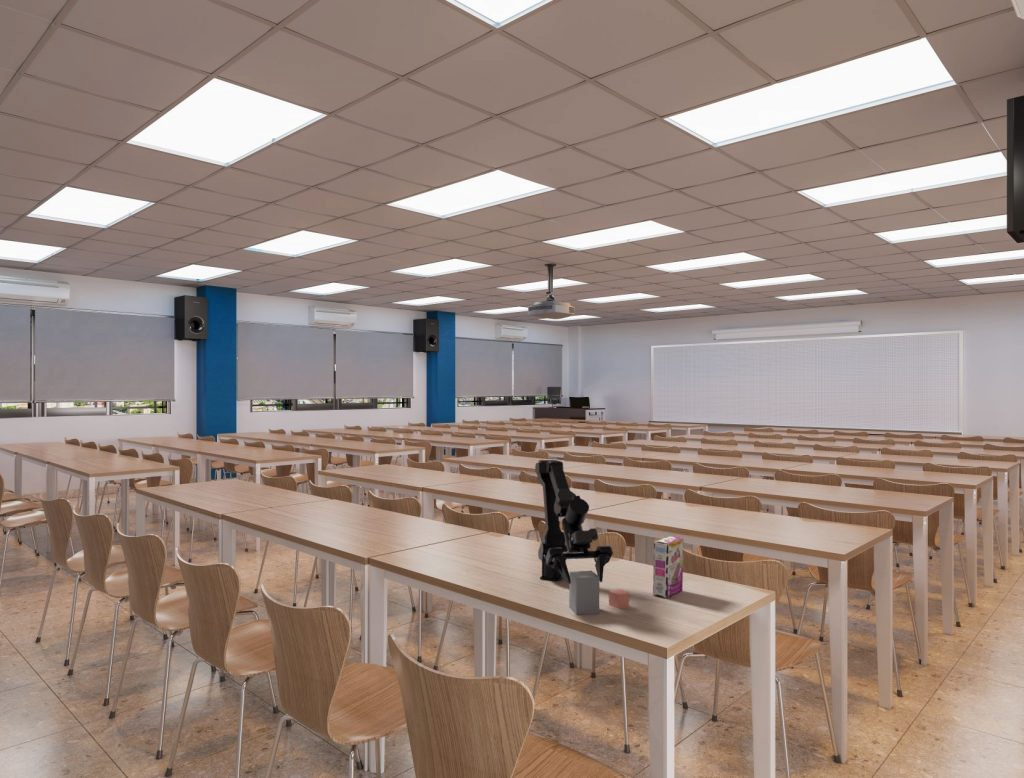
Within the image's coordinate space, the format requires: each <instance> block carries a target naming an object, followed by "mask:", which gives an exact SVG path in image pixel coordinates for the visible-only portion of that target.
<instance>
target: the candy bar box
mask: <svg viewBox="0 0 1024 778" xmlns="http://www.w3.org/2000/svg"><path fill="white" fill-rule="evenodd" d="M683 566H684V538H682V537H676V536H668V537H665V538H661V539H658V540H654V541H653V573H652V574H653V577H652V578H653V583H652V596H655V597H660V598H664V599H667V598H670V597H671V596H674V595H676V594H678V593H680V592H682V591H683V585H684V584H683V581H684V580H683V577H684V576H683V572H684V567H683Z"/></svg>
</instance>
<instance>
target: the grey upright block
mask: <svg viewBox="0 0 1024 778" xmlns="http://www.w3.org/2000/svg"><path fill="white" fill-rule="evenodd" d="M569 575H570V580H571V583H570V584H568V586H569V587H568V588H569V589H568V591H569V592H568V593H569V596H568V598H569V599H568V601H569V603H568V605H569V606H568V607H569V609H570V610H571V611H572V612H573V613H574V614H575V615H577V616H579V615H594V614H600V581H599V576H598V575H597V573H596V572H594V571H593V570H580V571H579V570H577V571H572V570H571V571H569Z"/></svg>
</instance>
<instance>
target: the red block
mask: <svg viewBox="0 0 1024 778" xmlns="http://www.w3.org/2000/svg"><path fill="white" fill-rule="evenodd" d="M608 606H610V607H612V608H615V609H617V610H620V609H624V608H629V607H630V592H628V591H626V590H623V589H621V588H620V589H615V590H614V589H613V590H609V591H608Z"/></svg>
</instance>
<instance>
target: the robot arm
mask: <svg viewBox="0 0 1024 778" xmlns="http://www.w3.org/2000/svg"><path fill="white" fill-rule="evenodd" d="M534 465H535V467H534V470H535V473H536V476H537V480H538V482H539V484H540V485H541V487H542V494H543V508H544V509H543V510H544V520H545V522H544V523H545V530H544V533H543V535H542V537H541V542H540V544H539V548H538V551H537V555H538V560H540V561H541V576H539V579H540V580H546V581H547V580H548V581H555V582H560V581H561V580H562V579H564V580H565V582H567V584H568V585H569V584H570V583H571V580H570V571H569V569H568V565H567V560H580V559H581V560H583V559H585V560H586V559H593V560H594V563H595V564H594V566H595V571H596V574H597V575H598V576H599V583H603V579H604V569H605V566H606V565H607V564H608V563H610V560H611V559H612V557H613V554H614V552H613V548H612V547H611V546H610V545H598V546H597V547H596V549H595V550H589V549H590V548H591V543H593V542H594V541H595V542H596V541H597V540H598V539H599V534H598V530H597V528H590V529H588V530H583V526H582V525H583V524H584V523H585V520H586V517H587V515H588V512H589V510H590V504H589V503H588V502H587V501H586V500H584V499H583V498H581V496H580V495H577V494H576V493H574V492H573V491H571V489H570V486H569V484H568V480H567V477H566V473H565V470H564V462H563V461H561V460H557V459H539V460H538V462H536V463H535V464H534ZM560 518H563V519H562V520H561V528H560Z"/></svg>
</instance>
